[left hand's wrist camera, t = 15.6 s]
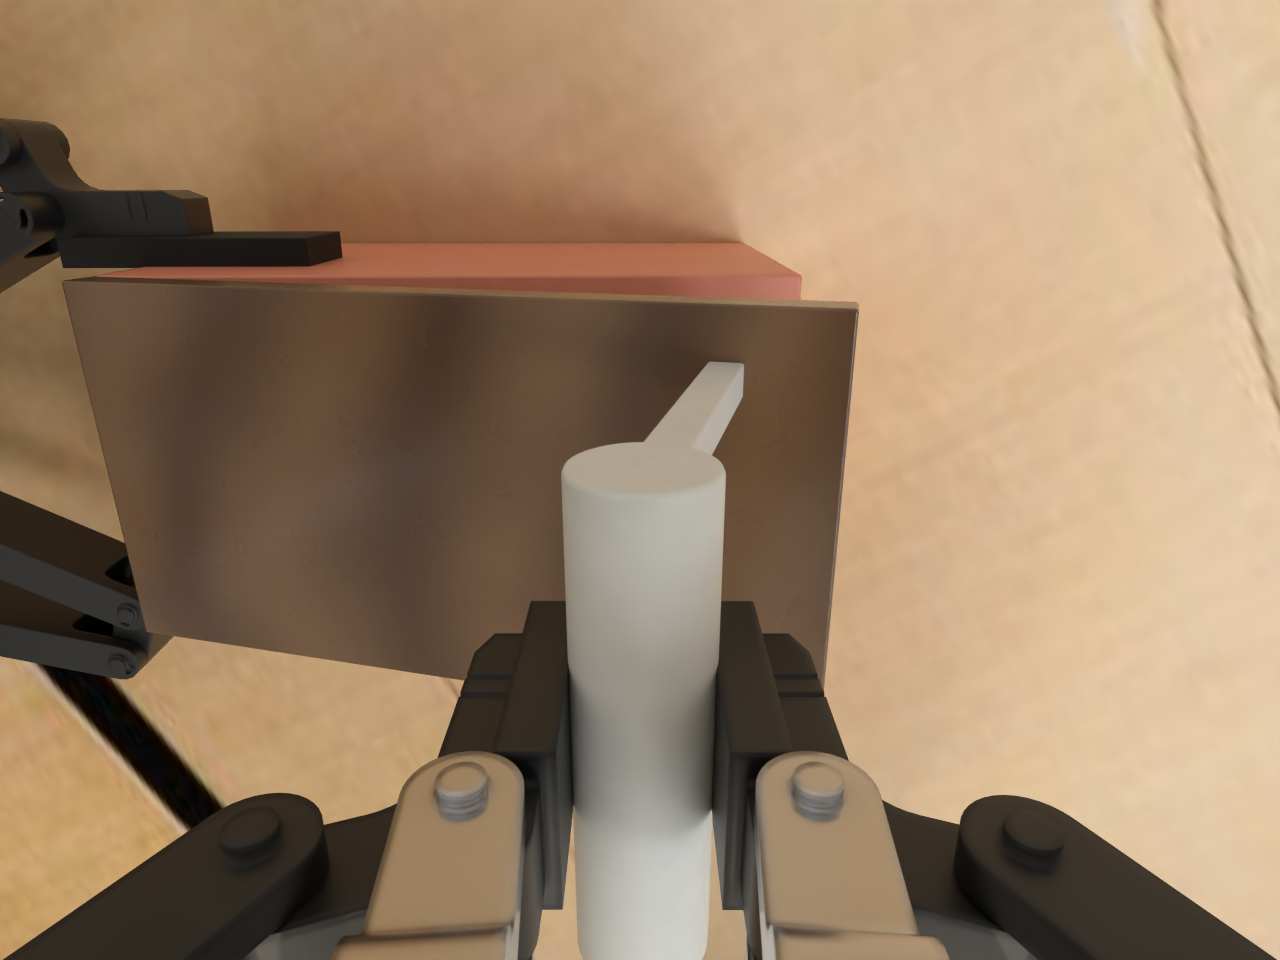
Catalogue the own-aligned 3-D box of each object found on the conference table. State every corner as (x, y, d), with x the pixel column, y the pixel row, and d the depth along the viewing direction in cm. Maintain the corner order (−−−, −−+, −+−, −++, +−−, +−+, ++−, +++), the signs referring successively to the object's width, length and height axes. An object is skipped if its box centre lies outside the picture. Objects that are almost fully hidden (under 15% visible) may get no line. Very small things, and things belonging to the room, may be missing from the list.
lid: (858, 301, 15) (860, 424, 8) (821, 710, 19) (795, 1085, 11) (95, 275, 20) (-403, 340, 12) (172, 615, 23) (-180, 839, 15)
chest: (744, 242, 30) (802, 274, 20) (734, 480, 33) (779, 609, 23) (272, 242, 30) (91, 275, 20) (308, 481, 33) (169, 614, 23)
